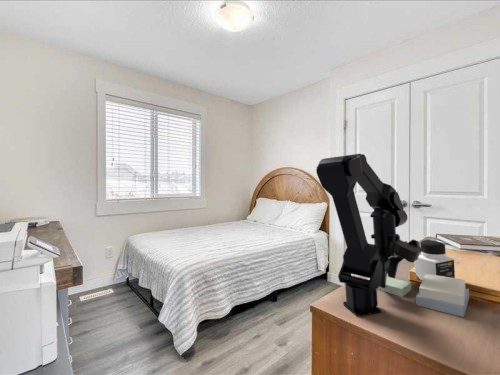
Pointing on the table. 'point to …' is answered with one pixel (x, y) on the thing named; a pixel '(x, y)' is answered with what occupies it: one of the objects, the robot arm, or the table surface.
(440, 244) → the medicine bottle
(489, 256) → the table surface
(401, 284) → the pale green stepped block
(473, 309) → the table surface
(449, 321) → the table surface
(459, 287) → the grey stepped block
